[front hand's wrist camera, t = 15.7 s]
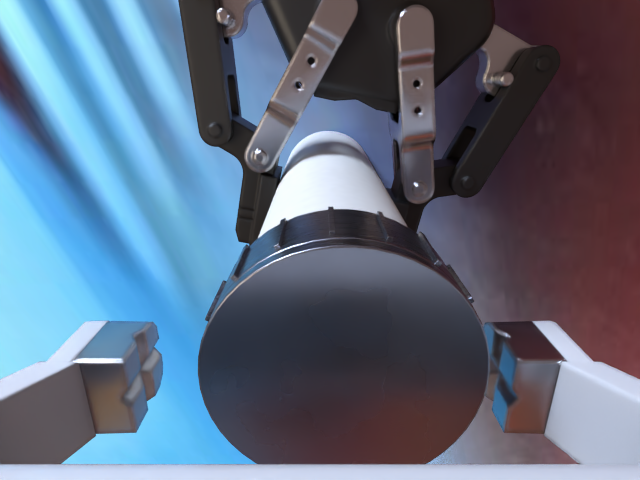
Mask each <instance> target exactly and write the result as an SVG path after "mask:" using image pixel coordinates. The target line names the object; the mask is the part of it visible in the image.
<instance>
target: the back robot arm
mask: <svg viewBox="0 0 640 480" xmlns="http://www.w3.org/2000/svg"><path fill="white" fill-rule="evenodd" d="M259 3H262V4H263V6H264V8H265V10H266V13H267V15H268V17H269V19H270V21H271V24H272V26H273V28H274V30H275V33H276V35H277V37H278V39H279V42H280V44H281V46H282V48H283V51H284V53H285V55H286V57H287V60H288V62H289V65H288V67H287V69H286V71H285V73H284V75H283V77H282V78H281V80H280V82H279V84H278V86H277V88H276V90H275V92H274V94H273V96H272V98H271V100H270V102H269V104H268V106H267V109H266V111H265V113H264V115H263V117H262V119H261V121H260V123H259V125H258V127H257V126H255V125H253V124H252V123H250V122H249V121H247V120H245V119H244V118H242V117H241V109H240V100H239V92H238V84H237V75H236V67H235V59H234V51H233V42H232V39H236V38H239V37H241V36H242V35H243V34H244V33H245V31H246V29H247V25H248V15H249V12H250V10H251V9H252V8H253V7H254V6H255V5H256V4H259ZM179 7H180V13H181V20H182V26H183V32H184V39H185V45H186V52H187V58H188V64H189V71H190V77H191V83H192V90H193V96H194V103H195V109H196V115H197V122H198V128H199V133H200V136H201V138H202V139H203V141H204V142H205V143H207V144H208V145H211V146H214V147H220V148H222V149H223V150H225V151H227V152H229V153H230V154H232V155H233V156H235V157H236V158H237V159H238V160H239V161H240V163H241V165H242V168H243V180H242V187H241V194H240V201H239V209H238V217H237V223H236V233H237V237H238V241H239V242H244V243H249V246H250V245H251V244H252V243H253V242H254V241H255V240H257V239H258V236H259V234H260V231H261V229H262V226H263V224H264V221H265V218H266V216H267V213H268V211H269V208H270V206H271V203H272V200H273V198H274V195H275V193H276V190H277V187H278V185H279V182H280V177H281V171H282V167H281V166H278V161H279V155H280V153H281V151H282V150H283V148H284V146H285V144H286V142H287V140H288V139H289V137H290V135H291V133H292V131H293V130H294V128H295V126H296V124H297V122H298V121H299V119H300V117H301V115H302V113H303V112H304V110H305V108H306V106H307V104H308V103H309V101H310V99H311V97H312V95H313V94H314V96H315V97H319V98H324V99H329V100H334V101H337V100H352V99H356V100H359V101H361V102H363V103H365V104H367V105H368V106H370V107H372V108H374V109H376V110H381V111H385V112H388V123H389V132H390V136H391V142H392V155H393V169H394V181H393V184H392V188H391V189H389V188H386V190H387V192H388V194H389V195H390V197H391V199H392V201H393V202H394V204H395V206H396V207H397V209H398V211H399V213H400V214H401V216H402V218H403V220H404V221H405V223H406V225H407V227H408V228H410V229H411V230H413V231H414V232H415V233H416V232H417V229H418V225H419V222H420V219H421V215H422V212H423V209H424V207H425V206H426V205H427V204H428V203H429V202H430V201H431V200H433V199H435V198H437V197H443V196H450V195H458V196H460V197H464V198H468V197H472V196H474V195H476V194H477V193H478V192H479V191H480V190H481V188H482V187H483V185H484V184H485V182H486V180H487V179H488V177H489V176H490V174H491V173H492V171H493V170H494V168H495V167H496V165H497V163H498V162H499V160H500V159H501V157H502V156H503V154H504V153H505V151H506V149H507V148H508V146H509V145H510V143H511V142H512V140H513V139H514V137H515V135H516V134H517V132H518V131H519V129H520V128H521V126H522V125H523V123H524V121H525V120H526V118H527V117H528V115H529V114H530V112H531V111H532V109H533V108H534V106H535V104H536V103H537V101H538V100H539V98H540V97H541V95H542V94H543V92H544V90H545V89H546V87H547V86H548V84H549V83H550V81H551V80H552V78H553V76H554V75H555V73H556V72H557V70H558V68H559V65H560V56H559V53H558V51H557V50H556V49H555V48H554V47H552V46H549V45H541V46H538V45H535V46H532V45H529V44H528V43H526V42H524V41H523V40H521V39H519V38H517V37H516V36H514V35H512V34H511V33H509V32H507V31H506V30H504V29H502V28H500V27H499V26H497V25H495V24H494V22H495V9H494V3H493V0H179ZM474 53H476V54H477V56H478V58H479V70H478V72H477V74H476V78H475V84H476V87H477V89H478V90H479V91H480V92H481V94H480V95H479V97H478V99H477V100H476V102H475V104H474V105H473V107H472V109H471V110H470V112H469V114H468V115H467V117H466V119H465V120H464V122H463V124H462V126H461V127H460V129H459V131H458V132H457V134H456V136H455V137H454V139H453V141H452V142H451V144H450V146H449V147H448V149H447V151H446V152H445V154H444V156H443V157H442V159H440V160H434V158H433V144H434V141H435V137H436V124H435V96H434V89H435V88H436V87H437V86H438V85H439V84H441V83H442V82H443V81H444V80H445V79H446V78H447V77H448V76H450V75H451V74H452V73H453V72H454V71H455V70H456V69H457V68H458V67H460V66H461V65H462V64H463V63H464V62H465V61H466V60H467V59H469V58H470V57H471V56H472V55H473V54H474ZM299 83H300V84H301V85H302V86H301V85H300V84H299Z"/></svg>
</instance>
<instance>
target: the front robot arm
mask: <svg viewBox="0 0 640 480" xmlns="http://www.w3.org/2000/svg"><path fill="white" fill-rule="evenodd" d="M483 329H484V331H485V334H486V337H487V342H488V348H489V362H490V370H489V377H488V384H487V388H486V392H485V396H486V397H488V398H489V399H491V400H492V401H493V406H492V411H493V413H494V415H495V417H496V419H497V420H498V422H499V424H500V426H501V428H502V430H503V432H504V433H536V434H544V436H545V437H546V438H548V439H549V440H550V441H551V442H553V443H554V444H555V445H556V446H558V447H559V448H560V449H561V450H563V451H564V452H565V453H566V454H568V455H569V456H570V457H571V458H573V459H574V460H575V461H576V462H578V463H579V464H61V463H63V462H64V461H65V460H66V459H67V458H69V457H70V456H71V455H72V454H74V453H75V452H76V451H77V450H79V449H80V448H81V447H82V446H84V445H85V444H86V443H87V442H89V441H90V440H91V439H92V438H94V437H95V436H96V434H104V433H136V432H137V430H138V428H139V426H140V424H141V422H142V420H143V419H144V417H145V415H146V413H147V411H148V406H147V401H148V400H149V399H151V398H152V397H154V396H155V395H156V393H157V391H158V389H159V387H160V384H161V379H162V375H163V361H162V354H161V353H160V352H159V351H158V350H157V349H156V348H155V347H154V346H155V344H156V342H157V341H158V339H159V335H158V330H157V326H156V325H155V324H154V322H135V321H88V322H84V323H83V325H82V326H81V327H80V328H79V329H78V330H77V331H76V332H75V333H74V334H73V335H72V336H71V337H70V338H69V339H68V340H67V341H66V342H65V343H64V344H63V345H62V346H61V347H60V348H59V349H58V350H57V351H56V352H55V353H54V354H53V355H52V356H51V357H50V358H49V359H48V361H47V362H37V363H35V364H33V365H31V366H29V367H26V368H24V369H22V370H20V371H18V372H15V373H13V374H11V375H9V376H7V377H4V378H2V379H0V480H640V379H638V378H636V377H633V376H631V375H629V374H627V373H625V372H622V371H620V370H618V369H616V368H614V367H611V366H609V365H607V364H605V363H603V362H593V360H592V359H591V358H590V357H589V356H588V355H587V354H586V353H585V352H584V351H583V350H582V349H581V348H580V347H579V346H578V345H577V344H576V343H575V342H574V341H573V340H572V339H571V338H570V337H569V336H568V335H567V334H566V333H565V332H564V331H563V330H562V329H561V327H560V326H559V325H558V324H557V323H555V322H553V321H524V322H488V323H485V325H484V327H483Z"/></svg>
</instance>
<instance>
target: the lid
mask: <svg viewBox="0 0 640 480" xmlns="http://www.w3.org/2000/svg"><path fill="white" fill-rule="evenodd" d="M473 302H474V300H473V298H472V297H471V295H470V294H469V292H468V291H467V289H466V288H465V286H464V285H463V283H462V282H461V280H460V279H459V277H458V276H457V275H456V273H455V272H454V270H453V269H452V267H451V266H450V265H447V266H446V265H445V263H444V262H443V260H442V259H441V258H440V256H439V255H438V254H437V252H436V251H435V250H434V249H433V248H432V246H431V245H430V243H429V242H428V240H427V238H426V237H425V235H424V234H423V233H421V232H419V233H418V234H417V233H415V232H414V231H413V230H411V229H410V228H408V227H406V226H405V225H403V224H401V223H399V222H397V221H395V220H393V219H390V218H387V217H385V216H384V215H383V213H382V212H379V211H377V214H375V213H371V212H367V211H361V210H352V209H334V208H333V206H332V207H328V210H322V211H315V212H311V213H307V214H303V215H300V216H297V217H294V218H292V219H289V220H286V218H284V219H282V220H281V221H280V224H279V225H277V226H275V227H273V228H272V229H270V230H268V231H267V232H266V233H264V234H263V235H262V236H260V237H259V238H258V239H257V240H255V241H254V242H253V243H252V244H251V245H250V246H248V245H246V246H245V247H244V248H243V250H242V252H241V255H240V257H239V259H238V261H237V263H236V264H235V266H234V268H233V270H232V272H231V274H230V275H229V278H228V280H227V282H226V281H223V282H222V284H221V286H220V288H219V290H218V292H217V294H216V297H215V299H214V301H213V303H212V305H211V307H210V309H209V311H208V313H207V315H206V318H205V320H206V321H208V324H207V326H206V329H205V331H204V334H203V337H202V340H201V345H200V350H199V356H198V377H199V384H200V390H201V393H202V397H203V400H204V403H205V406H206V408H207V410H208V412H209V414H210V416H211V418H212V420H213V421H214V423H215V424H216V426H217V427H218V429H219V430H220V432H221V433H222V434H223V435H224V436H225V438H226V439H227V440H228V441H229V442H230V443H231V444H232V445H233V446H234V447H235V448H236V449H238V450H239V451H240V452H241V453H242V454H243V455H245V456H246V457H248V458H249V459H251V460H252V461H254V462H255V463H257V464H426V463H428V462H430V461H432V460H433V459H434V458H436V457H437V456H439V455H440V454H442V453H443V452H444V451H445V450H447V449H448V448H449V447H450V446H451V445H452V444H453V443H454V442H456V441H457V439H458V438H459V437H460V436H461V435H462V434H463V433H464V431H465V430H466V429H467V428H468V426H469V425H470V423H471V422H472V420H473V419H474V417H475V416H476V414H477V412H478V409H479V407H480V405H481V403H482V401H483V398H484V395H485V392H486V388H487V384H488V377H489V370H490V362H489V348H488V342H487V337H486V334H485V331H484V329H483V326H482V323H481V321H480V319H479V317H478V315H477V313H476V311H475V309H474V308H473V306H472V304H471V303H473Z"/></svg>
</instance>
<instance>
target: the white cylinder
mask: <svg viewBox="0 0 640 480" xmlns="http://www.w3.org/2000/svg"><path fill="white" fill-rule="evenodd" d="M332 206H333V208H334V209H352V210H361V211H367V212H371V213H375V214H377V211H379V212H382V213H383V215H384V216H385V217H387V218H390V219H393V220H395V221H397V222H399V223H401V224H403V225H405V226H406V227H407V225H406V223H405V221H404V220H403V218H402V216H401V214H400V213H399V211H398V209H397V207H396V206H395V204H394V202H393V201H392V199H391V197H390V195H389V194H388V192H387V190H386V188H385V187H384V185H383V183H382V181H381V180H380V178H379V176H378V174H377V173H376V171H375V169H374V167H373V166H372V164H371V162H370V161H369V159H368V157H367V155H366V154H365V152H364V150H363V149H362V147H361V146H360V145H359V144H358V143H357V142H356V141H355V140H354V139H352V138H351V137H349V136H347V135H345V134H343V133H339V132H335V131H322V132H317V133H314V134H312V135H309V136H307V137H306V138H304V139H303V140H302V141H300V142H299V143H298V144H297V146H296V147H295V148H294V149H293V151H292V153H291V155H290V157H289V159H288V162H287V164H286V167H285V169H284V172H283V175H282V177H281V180H280V182H279V185H278V187H277V190H276V193H275V195H274V198H273V200H272V203H271V206H270V208H269V211H268V213H267V216H266V218H265V221H264V224H263V226H262V229H261V231H260V234H259V236H258V238H259V237H260V236H262V235H263V234H264V233H266V232H267V231H268V230H270V229H272V228H273V227H275V226H277V225H279V224H280V221H281V220H282V219H284V218H286V220H289V219H292V218H294V217H297V216H300V215H303V214H307V213H311V212H315V211H322V210H328V207H332Z"/></svg>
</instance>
